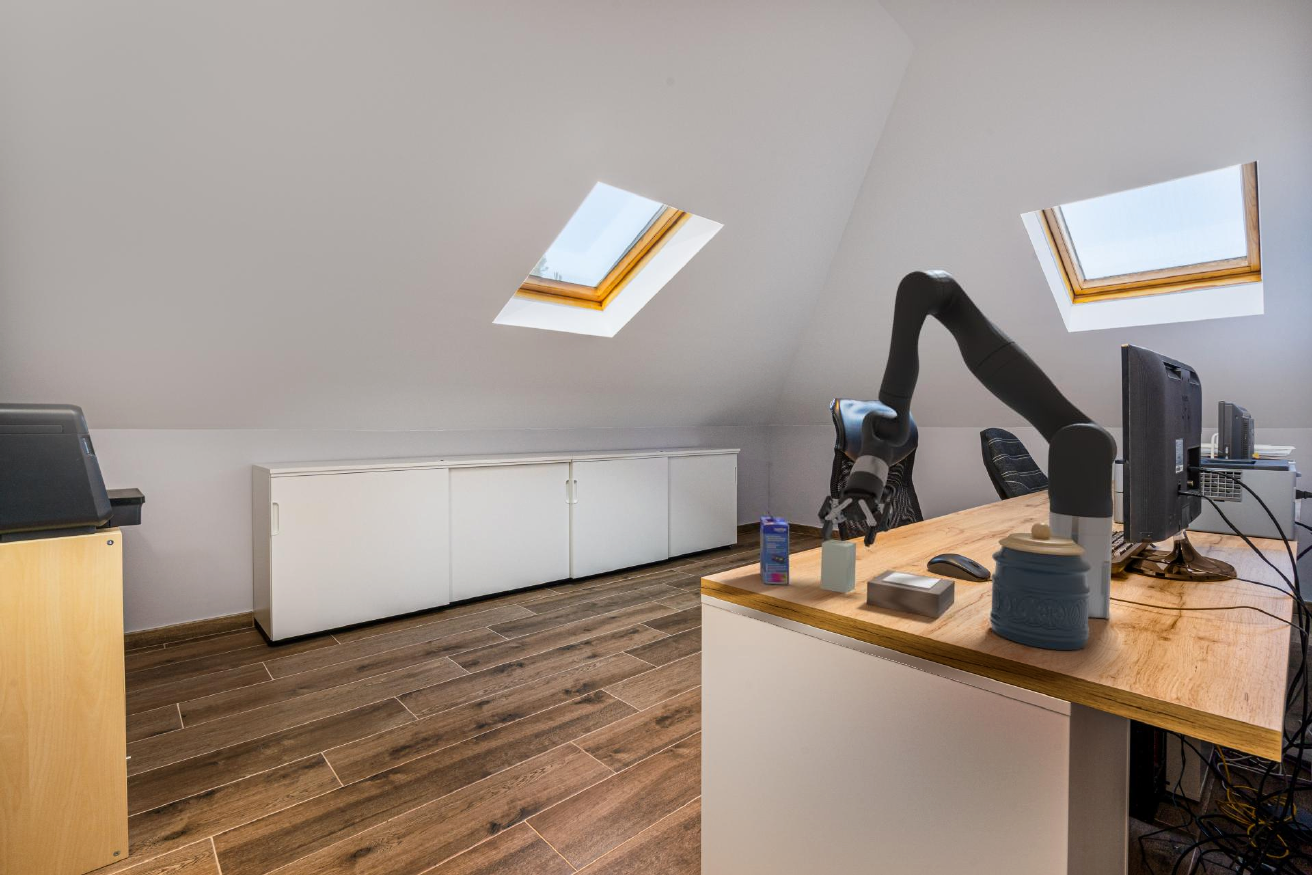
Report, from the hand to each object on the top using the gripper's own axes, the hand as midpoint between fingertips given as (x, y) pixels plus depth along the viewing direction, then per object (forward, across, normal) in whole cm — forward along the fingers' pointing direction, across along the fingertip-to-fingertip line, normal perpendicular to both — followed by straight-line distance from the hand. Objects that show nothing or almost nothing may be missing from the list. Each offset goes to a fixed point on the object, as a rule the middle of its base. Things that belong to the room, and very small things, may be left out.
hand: (845, 541), depth 122 cm
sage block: (+9, 0, +4) cm, 10 cm away
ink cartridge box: (+10, -13, +2) cm, 17 cm away
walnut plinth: (+10, +14, +3) cm, 17 cm away
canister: (+13, +34, -1) cm, 37 cm away
